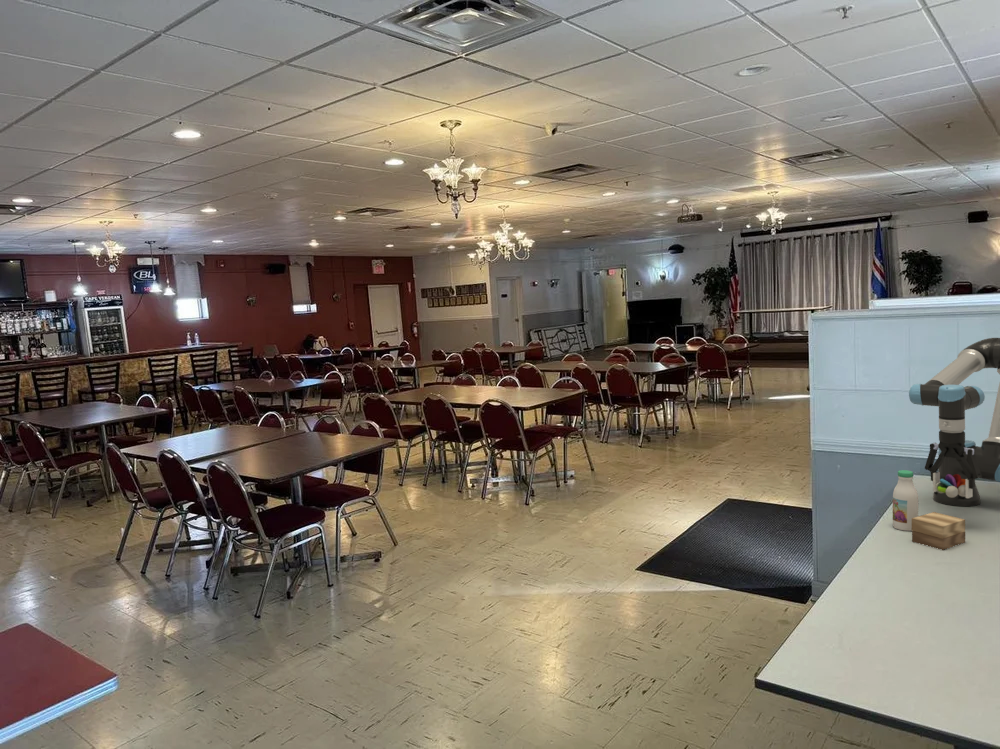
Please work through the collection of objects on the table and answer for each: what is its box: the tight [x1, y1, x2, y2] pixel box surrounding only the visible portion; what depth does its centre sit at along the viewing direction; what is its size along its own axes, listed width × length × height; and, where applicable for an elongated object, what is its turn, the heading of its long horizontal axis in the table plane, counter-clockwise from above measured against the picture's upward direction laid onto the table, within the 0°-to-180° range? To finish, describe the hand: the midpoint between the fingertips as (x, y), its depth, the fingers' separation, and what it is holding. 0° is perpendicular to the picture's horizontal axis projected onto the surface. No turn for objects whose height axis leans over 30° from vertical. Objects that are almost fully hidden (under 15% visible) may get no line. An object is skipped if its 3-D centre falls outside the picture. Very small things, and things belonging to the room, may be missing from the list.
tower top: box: [911, 511, 966, 539], centre depth 227 cm, size 12×10×4 cm
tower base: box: [911, 531, 966, 551], centre depth 227 cm, size 12×10×4 cm
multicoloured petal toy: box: [935, 474, 966, 498], centre depth 239 cm, size 8×10×7 cm
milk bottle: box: [892, 469, 919, 532], centre depth 241 cm, size 8×8×20 cm
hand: (952, 494), depth 240 cm, fingers closed on multicoloured petal toy, 10 cm apart
